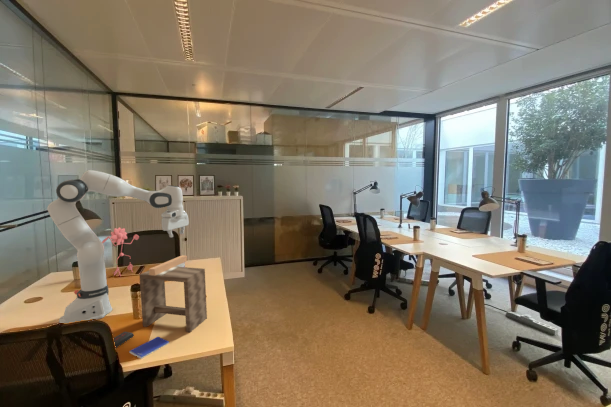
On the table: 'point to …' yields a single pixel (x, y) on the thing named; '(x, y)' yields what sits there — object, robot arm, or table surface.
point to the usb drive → (122, 338)
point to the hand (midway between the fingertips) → (176, 235)
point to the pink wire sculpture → (119, 238)
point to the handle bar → (167, 265)
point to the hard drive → (149, 347)
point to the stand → (156, 300)
